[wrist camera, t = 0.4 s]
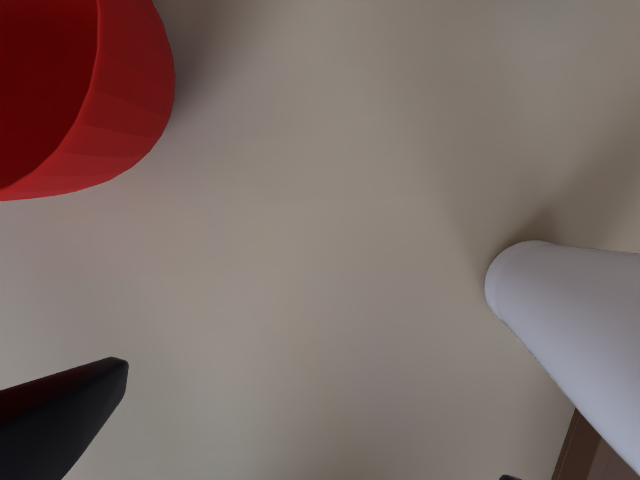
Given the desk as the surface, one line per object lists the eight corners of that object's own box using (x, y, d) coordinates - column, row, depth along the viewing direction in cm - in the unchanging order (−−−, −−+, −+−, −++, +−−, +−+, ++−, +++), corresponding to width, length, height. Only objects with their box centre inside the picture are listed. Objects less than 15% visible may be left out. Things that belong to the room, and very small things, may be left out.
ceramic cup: (-65, 63, 23) (-374, -33, 13) (164, -60, 21) (-5, -284, 11) (23, 249, 24) (-202, 288, 14) (250, 152, 22) (166, 120, 12)
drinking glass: (470, 226, 21) (729, 303, 7) (592, 226, 21) (1178, 309, 6) (465, 336, 22) (686, 619, 8) (582, 338, 22) (1074, 653, 7)
